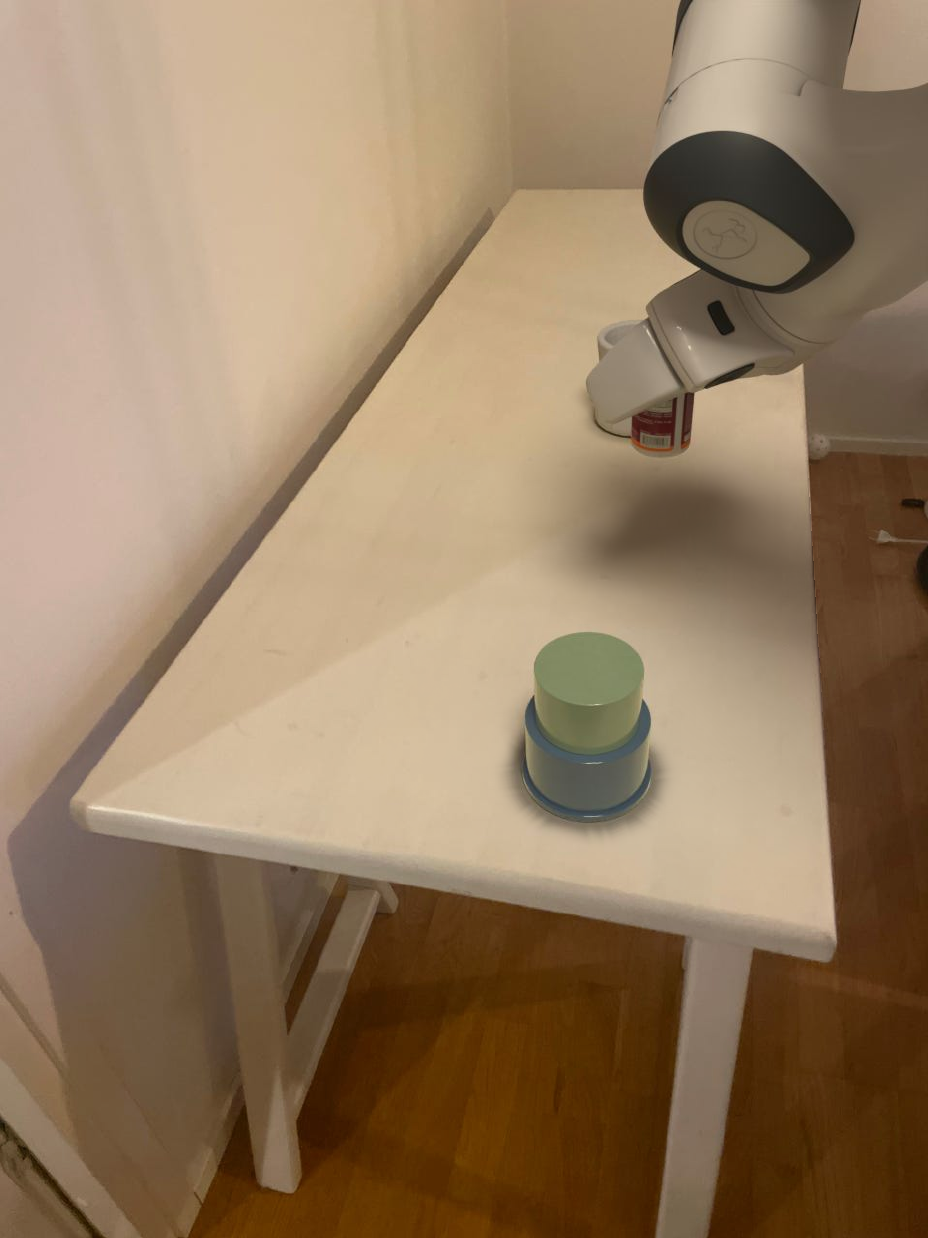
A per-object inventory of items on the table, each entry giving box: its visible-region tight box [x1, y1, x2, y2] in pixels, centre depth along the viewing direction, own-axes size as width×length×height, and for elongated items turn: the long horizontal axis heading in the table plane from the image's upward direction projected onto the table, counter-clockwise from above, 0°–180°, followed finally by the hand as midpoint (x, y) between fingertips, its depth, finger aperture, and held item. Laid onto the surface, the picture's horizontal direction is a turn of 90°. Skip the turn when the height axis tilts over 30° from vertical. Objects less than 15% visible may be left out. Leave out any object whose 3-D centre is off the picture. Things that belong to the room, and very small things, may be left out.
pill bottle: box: [630, 392, 696, 459], centre depth 73 cm, size 5×5×8 cm
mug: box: [594, 319, 644, 438], centre depth 104 cm, size 12×9×10 cm
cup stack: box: [521, 631, 652, 823], centre depth 63 cm, size 9×9×10 cm
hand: (657, 392), depth 74 cm, fingers closed on pill bottle, 5 cm apart
